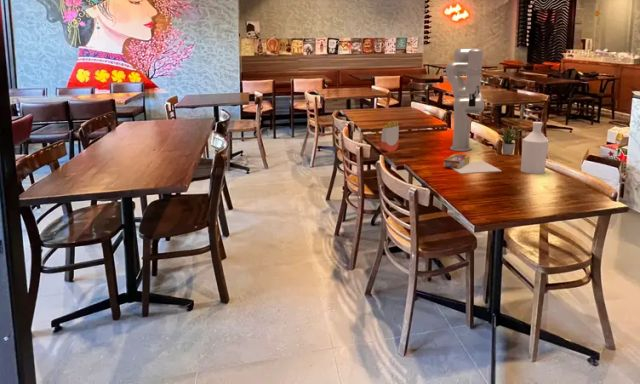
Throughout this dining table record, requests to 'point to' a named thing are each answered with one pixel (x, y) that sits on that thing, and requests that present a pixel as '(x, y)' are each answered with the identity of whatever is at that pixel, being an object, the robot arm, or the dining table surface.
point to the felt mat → (476, 168)
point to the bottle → (534, 151)
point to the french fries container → (390, 137)
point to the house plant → (508, 141)
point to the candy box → (456, 161)
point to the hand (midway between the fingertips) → (471, 106)
